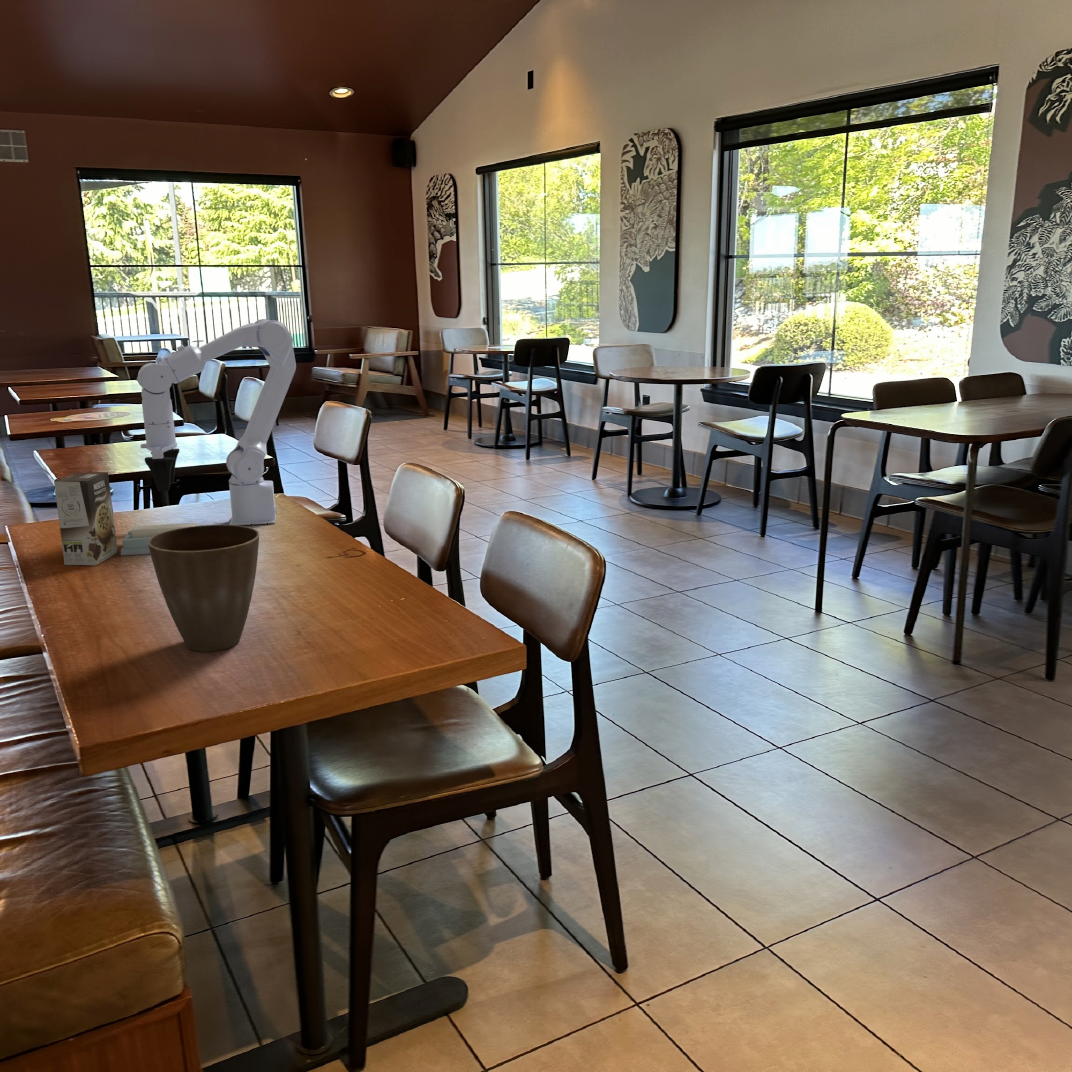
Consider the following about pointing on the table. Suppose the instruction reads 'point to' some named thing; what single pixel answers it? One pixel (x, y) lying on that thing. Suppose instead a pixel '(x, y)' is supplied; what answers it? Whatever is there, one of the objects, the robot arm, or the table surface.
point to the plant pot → (207, 581)
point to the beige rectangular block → (156, 529)
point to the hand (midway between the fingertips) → (165, 487)
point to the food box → (86, 518)
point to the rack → (135, 545)
